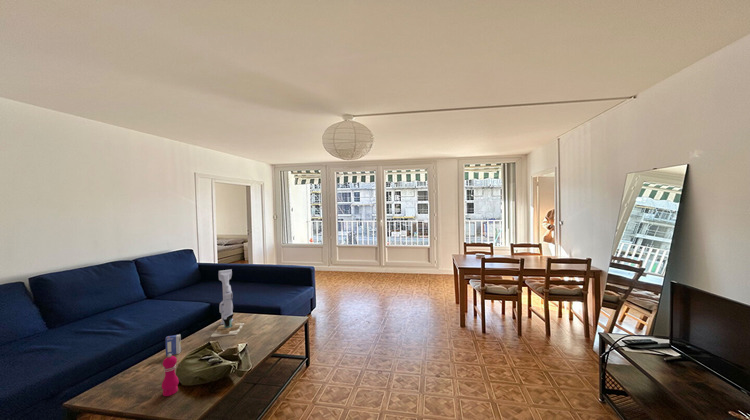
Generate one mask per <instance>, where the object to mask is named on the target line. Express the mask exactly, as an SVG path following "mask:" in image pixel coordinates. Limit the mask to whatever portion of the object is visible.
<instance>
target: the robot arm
mask: <svg viewBox="0 0 750 420" xmlns="http://www.w3.org/2000/svg"><path fill="white" fill-rule="evenodd" d="M232 270H233V269H232V268H231V269H225V270H224V269H223V270H218V281H221V283H222V300H221V302H220V303H219V308H218V309H219V313H220V315H221V322H220V323H219V326H221V325H224V322H225V326H226V327H228V326H229V323H230V319H232V322H234V318H233V316H234V313H233V310H234V304H233V291H232V286H231V284H230V280H232V276H233V271H232Z"/></svg>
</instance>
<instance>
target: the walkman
mask: <svg viewBox="0 0 750 420" xmlns="http://www.w3.org/2000/svg"><path fill="white" fill-rule="evenodd" d="M164 338H165V356H166V357H168V354H172V356H175V355H178V354H180V353H181V352H182V336H181V334H180V333H179V334H174V335H168V336H166V337H164Z"/></svg>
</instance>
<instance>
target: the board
mask: <svg viewBox="0 0 750 420" xmlns="http://www.w3.org/2000/svg"><path fill="white" fill-rule="evenodd" d="M243 326H245V322H243V323H241V322H240V323H236V322H235V321H232V327H231V328H224V324H221V325H218V327H217V328H216V330H215V331H214V332H213V333H212V334H211V336H210V338H214V337H215V338H217V337H225V336H237V335H238V334H239V333H240V331H241V330H242V328H243Z"/></svg>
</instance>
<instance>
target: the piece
mask: <svg viewBox="0 0 750 420" xmlns="http://www.w3.org/2000/svg"><path fill="white" fill-rule="evenodd" d="M232 319H233V318H232ZM232 319H230V323H229V326H228V327H226V326H225V322H224V324H223V325H224V328H231V327H232V323H233V321H232Z"/></svg>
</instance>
